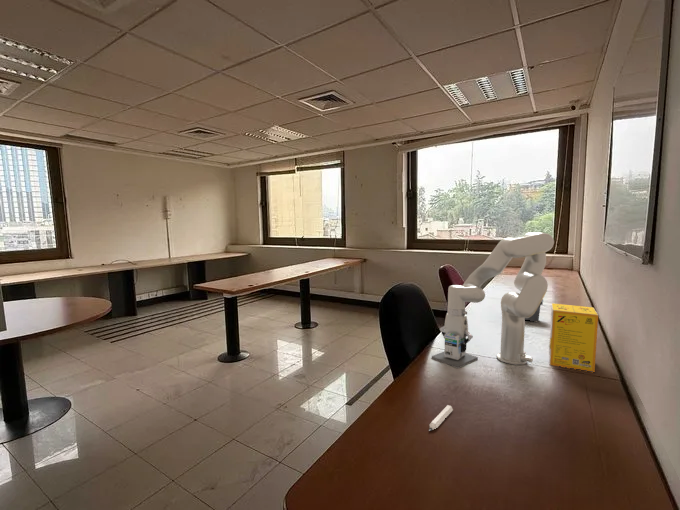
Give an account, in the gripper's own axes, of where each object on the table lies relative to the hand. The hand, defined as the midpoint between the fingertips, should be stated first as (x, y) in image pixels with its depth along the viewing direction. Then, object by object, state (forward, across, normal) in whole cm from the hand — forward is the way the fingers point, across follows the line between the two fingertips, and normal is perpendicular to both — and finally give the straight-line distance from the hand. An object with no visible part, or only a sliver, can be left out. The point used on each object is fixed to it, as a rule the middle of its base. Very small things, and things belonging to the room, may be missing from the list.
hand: (455, 348), depth 158 cm
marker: (+5, -26, +49) cm, 56 cm away
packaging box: (+5, -35, -38) cm, 52 cm away
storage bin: (+5, +11, -98) cm, 99 cm away
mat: (+5, 0, 0) cm, 5 cm away
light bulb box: (+3, 0, 0) cm, 3 cm away
